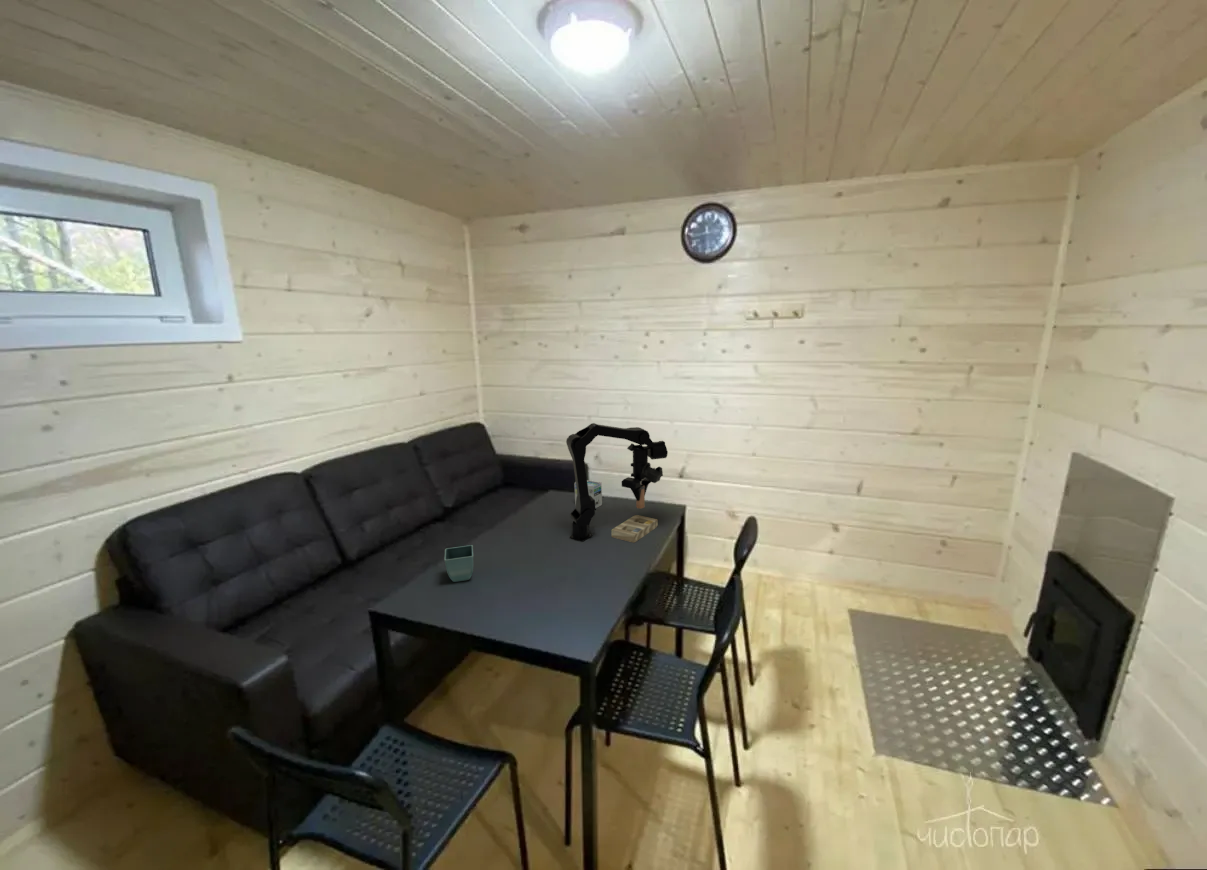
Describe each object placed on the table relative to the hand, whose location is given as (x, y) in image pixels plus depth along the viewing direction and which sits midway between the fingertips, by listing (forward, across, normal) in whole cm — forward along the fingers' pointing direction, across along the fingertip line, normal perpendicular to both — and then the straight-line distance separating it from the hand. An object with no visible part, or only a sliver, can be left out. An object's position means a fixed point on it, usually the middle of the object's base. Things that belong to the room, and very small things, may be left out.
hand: (640, 499), depth 198 cm
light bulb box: (+12, +11, +33) cm, 37 cm away
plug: (+3, 0, 0) cm, 3 cm away
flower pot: (+12, -65, +29) cm, 73 cm away
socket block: (+12, -4, 0) cm, 13 cm away
